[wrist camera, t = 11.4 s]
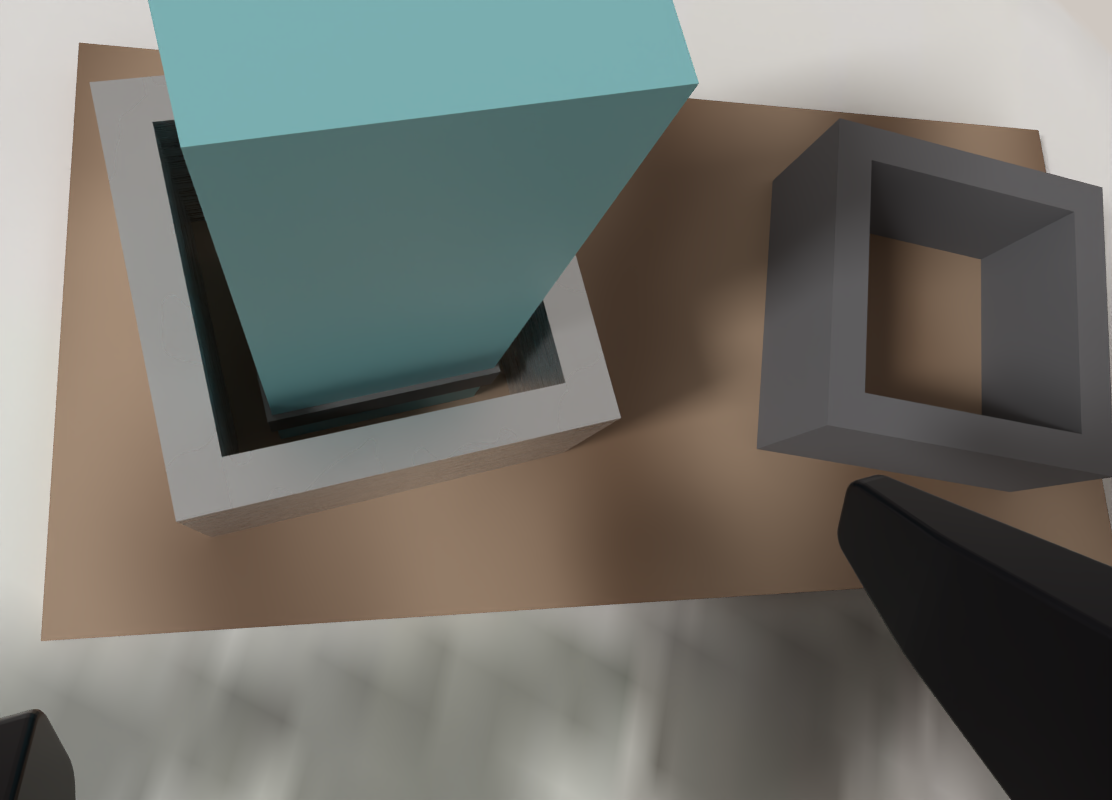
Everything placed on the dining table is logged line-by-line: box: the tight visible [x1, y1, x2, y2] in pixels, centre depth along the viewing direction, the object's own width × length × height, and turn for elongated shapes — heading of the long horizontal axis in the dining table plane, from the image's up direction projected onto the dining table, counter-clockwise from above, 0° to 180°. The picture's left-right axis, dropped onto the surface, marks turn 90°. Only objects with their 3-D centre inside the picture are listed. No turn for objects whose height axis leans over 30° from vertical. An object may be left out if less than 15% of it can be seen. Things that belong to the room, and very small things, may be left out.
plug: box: [148, 0, 699, 439], centre depth 12 cm, size 4×4×12 cm
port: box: [90, 75, 621, 537], centre depth 16 cm, size 7×7×4 cm
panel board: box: [41, 43, 1112, 641], centre depth 20 cm, size 24×12×1 cm, turn 93°
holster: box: [757, 118, 1112, 492], centre depth 20 cm, size 7×7×3 cm
